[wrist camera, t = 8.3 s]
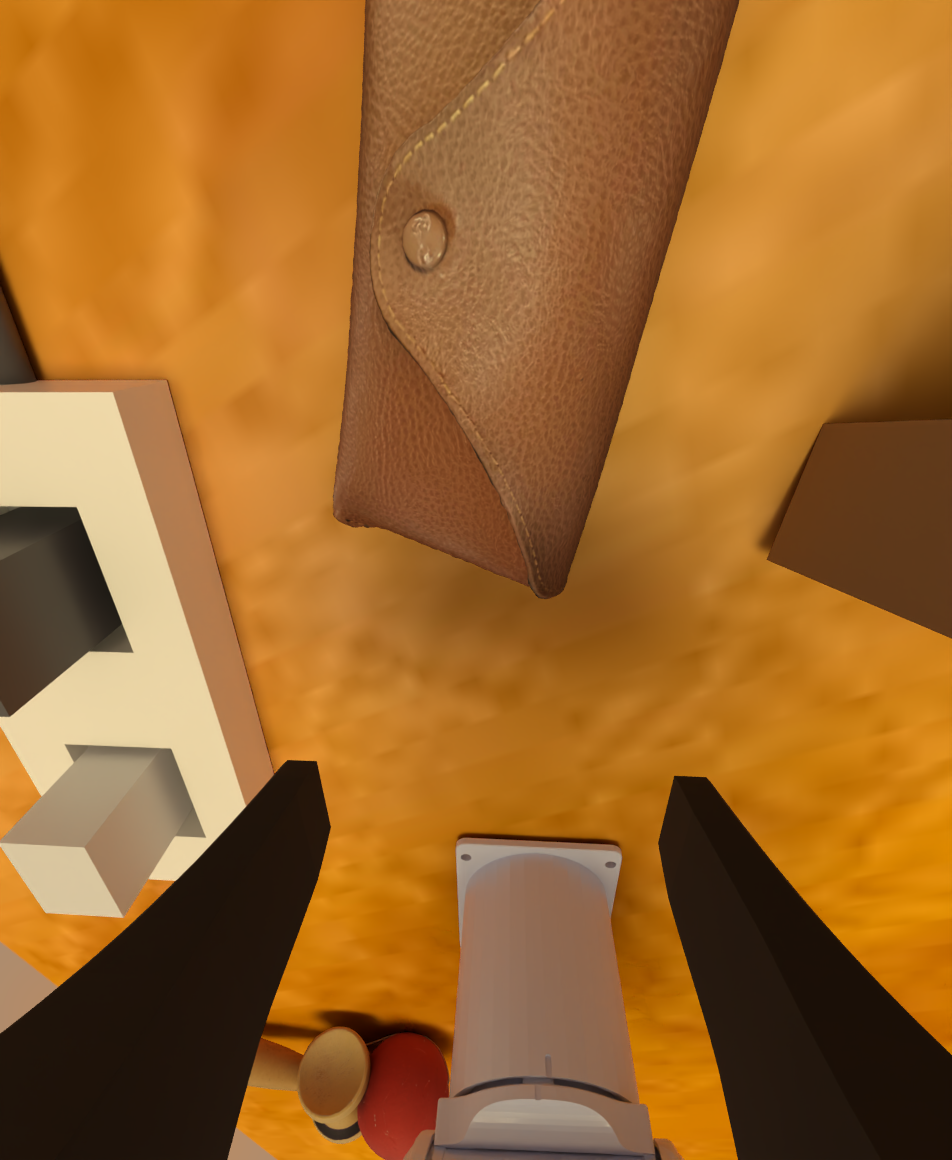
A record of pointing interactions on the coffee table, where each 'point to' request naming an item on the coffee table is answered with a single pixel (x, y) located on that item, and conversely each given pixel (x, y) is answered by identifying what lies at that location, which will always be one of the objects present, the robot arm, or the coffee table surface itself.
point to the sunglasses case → (510, 259)
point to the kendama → (361, 1086)
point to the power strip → (116, 596)
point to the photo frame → (877, 517)
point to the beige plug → (100, 830)
